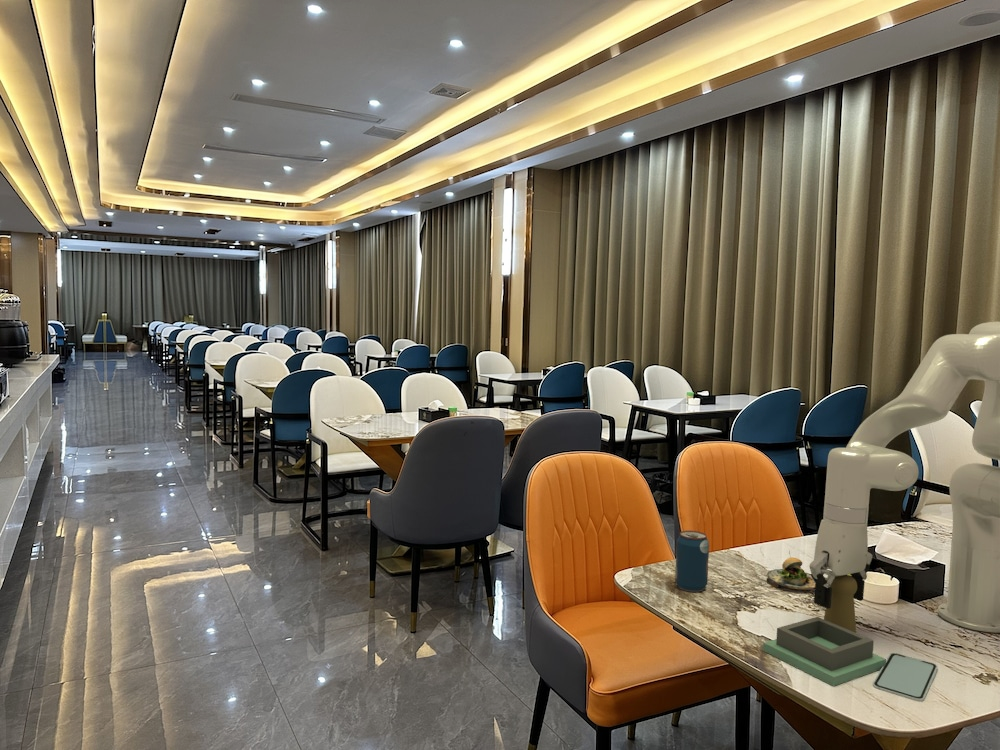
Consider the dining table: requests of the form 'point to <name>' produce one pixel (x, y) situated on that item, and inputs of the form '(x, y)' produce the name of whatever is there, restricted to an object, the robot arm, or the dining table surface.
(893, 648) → the dining table surface
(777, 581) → the burger
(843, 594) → the olive brown pawn
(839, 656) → the socket board
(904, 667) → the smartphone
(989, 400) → the robot arm
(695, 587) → the soda can
